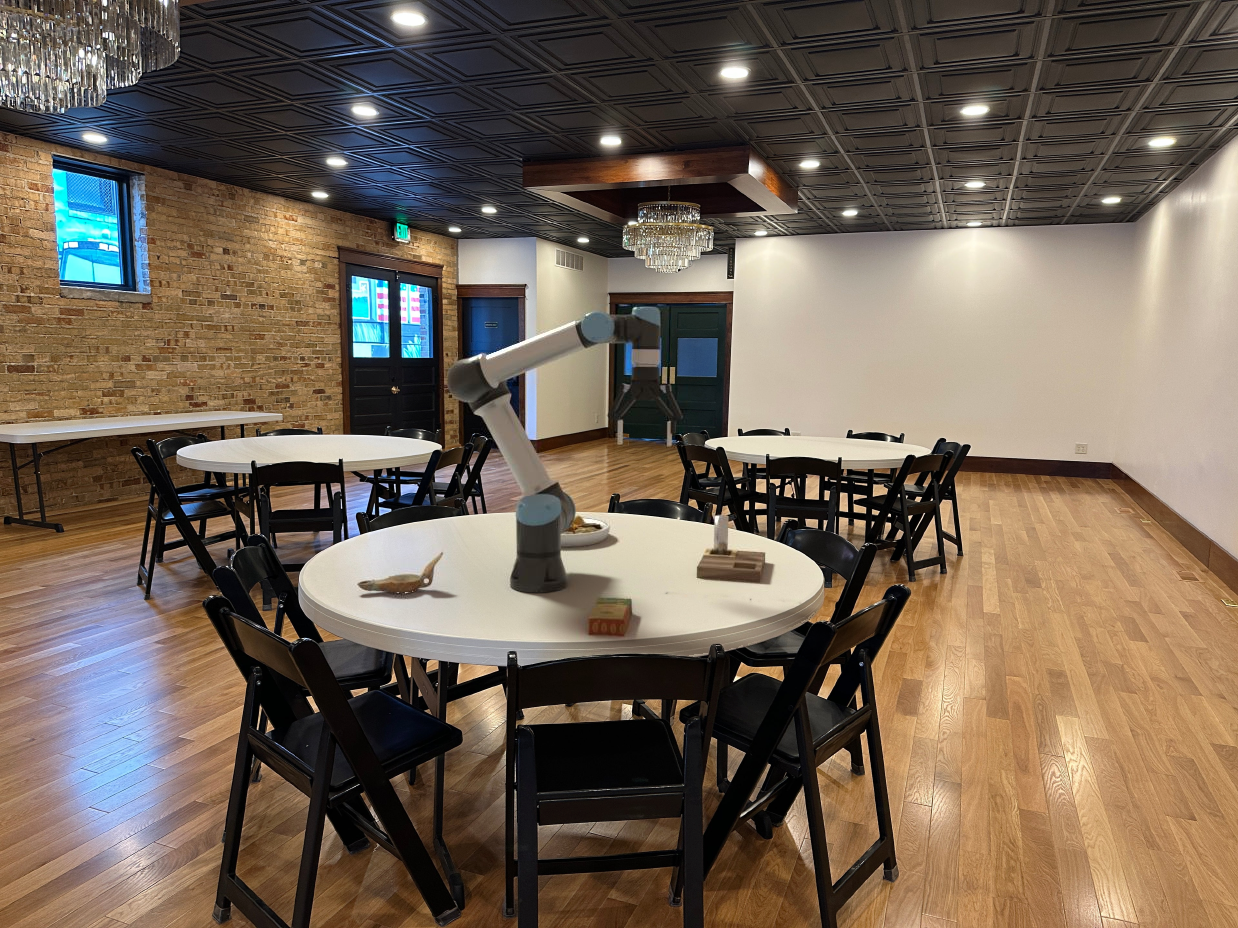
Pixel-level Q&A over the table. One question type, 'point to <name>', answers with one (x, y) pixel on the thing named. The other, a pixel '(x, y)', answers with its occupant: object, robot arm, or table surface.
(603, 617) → the carton
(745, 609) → the table surface
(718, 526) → the steel pin
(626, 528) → the table surface
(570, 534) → the bowl
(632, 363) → the robot arm
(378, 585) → the oil lamp
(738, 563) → the socket board
